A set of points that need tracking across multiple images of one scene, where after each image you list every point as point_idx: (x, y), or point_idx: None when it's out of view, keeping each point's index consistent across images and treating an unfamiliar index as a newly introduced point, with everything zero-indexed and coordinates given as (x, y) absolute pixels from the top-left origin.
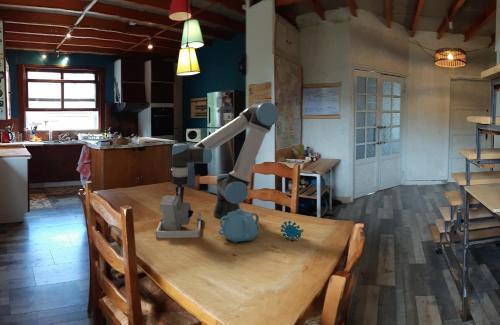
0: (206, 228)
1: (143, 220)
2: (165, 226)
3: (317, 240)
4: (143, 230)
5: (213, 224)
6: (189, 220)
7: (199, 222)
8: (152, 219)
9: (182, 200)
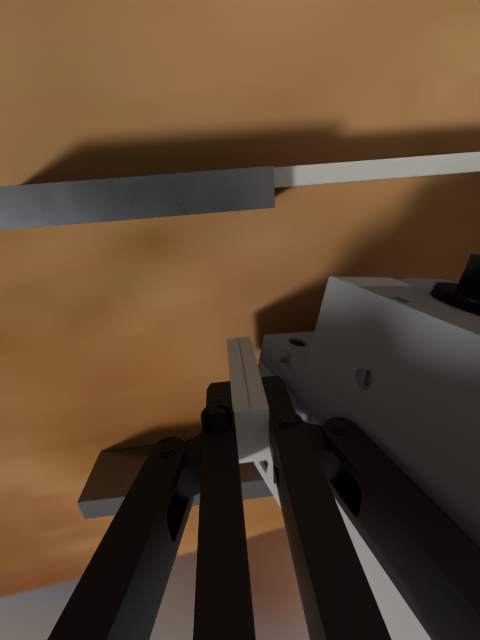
0: (321, 102)
1: None
2: None
3: None
4: None
5: (177, 18)
6: (411, 279)
7: (338, 173)
8: (102, 518)
9: (245, 539)
